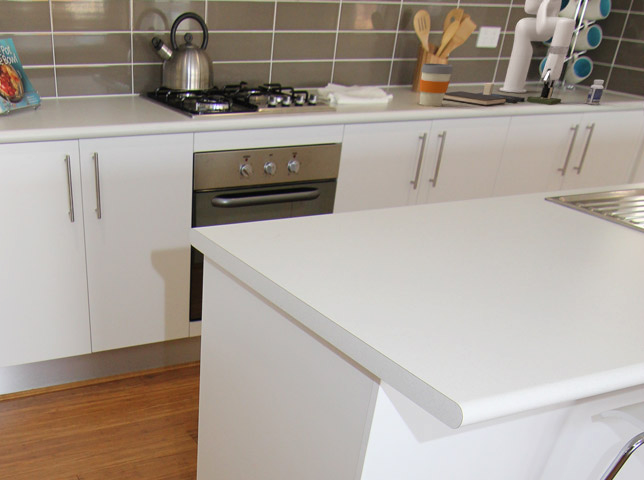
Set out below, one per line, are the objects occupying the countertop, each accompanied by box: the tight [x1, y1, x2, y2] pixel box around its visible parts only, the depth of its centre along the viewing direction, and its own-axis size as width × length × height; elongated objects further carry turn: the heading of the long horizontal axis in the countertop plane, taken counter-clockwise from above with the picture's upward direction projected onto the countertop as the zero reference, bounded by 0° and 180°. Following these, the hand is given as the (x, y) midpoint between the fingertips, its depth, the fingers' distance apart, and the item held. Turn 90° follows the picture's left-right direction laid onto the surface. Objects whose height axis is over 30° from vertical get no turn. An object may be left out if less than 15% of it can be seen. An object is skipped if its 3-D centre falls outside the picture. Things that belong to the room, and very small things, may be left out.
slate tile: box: [475, 82, 504, 97], centre depth 331 cm, size 12×13×6 cm
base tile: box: [497, 94, 526, 104], centre depth 328 cm, size 12×10×2 cm
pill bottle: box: [585, 79, 605, 106], centre depth 327 cm, size 5×5×10 cm
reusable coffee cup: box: [419, 62, 454, 107], centre depth 305 cm, size 13×13×15 cm
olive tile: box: [526, 87, 562, 106], centre depth 328 cm, size 12×13×6 cm
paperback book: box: [443, 90, 507, 107], centre depth 321 cm, size 16×23×2 cm
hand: (545, 96), depth 327 cm, fingers closed on olive tile, 3 cm apart
